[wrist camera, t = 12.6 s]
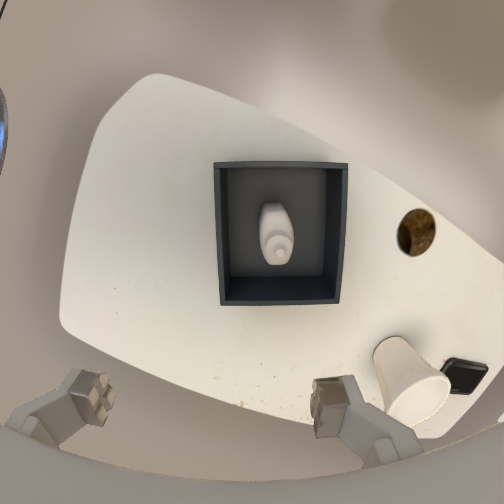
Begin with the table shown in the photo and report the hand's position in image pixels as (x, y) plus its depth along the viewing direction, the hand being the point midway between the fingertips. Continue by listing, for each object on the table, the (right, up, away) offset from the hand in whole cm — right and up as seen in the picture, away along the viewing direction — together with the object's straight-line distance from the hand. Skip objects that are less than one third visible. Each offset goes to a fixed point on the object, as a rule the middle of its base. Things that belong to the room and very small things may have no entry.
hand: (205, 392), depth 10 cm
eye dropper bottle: (+4, +9, +27) cm, 28 cm away
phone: (+44, -20, +35) cm, 60 cm away
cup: (+24, -11, +33) cm, 42 cm away
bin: (+5, +9, +27) cm, 29 cm away
